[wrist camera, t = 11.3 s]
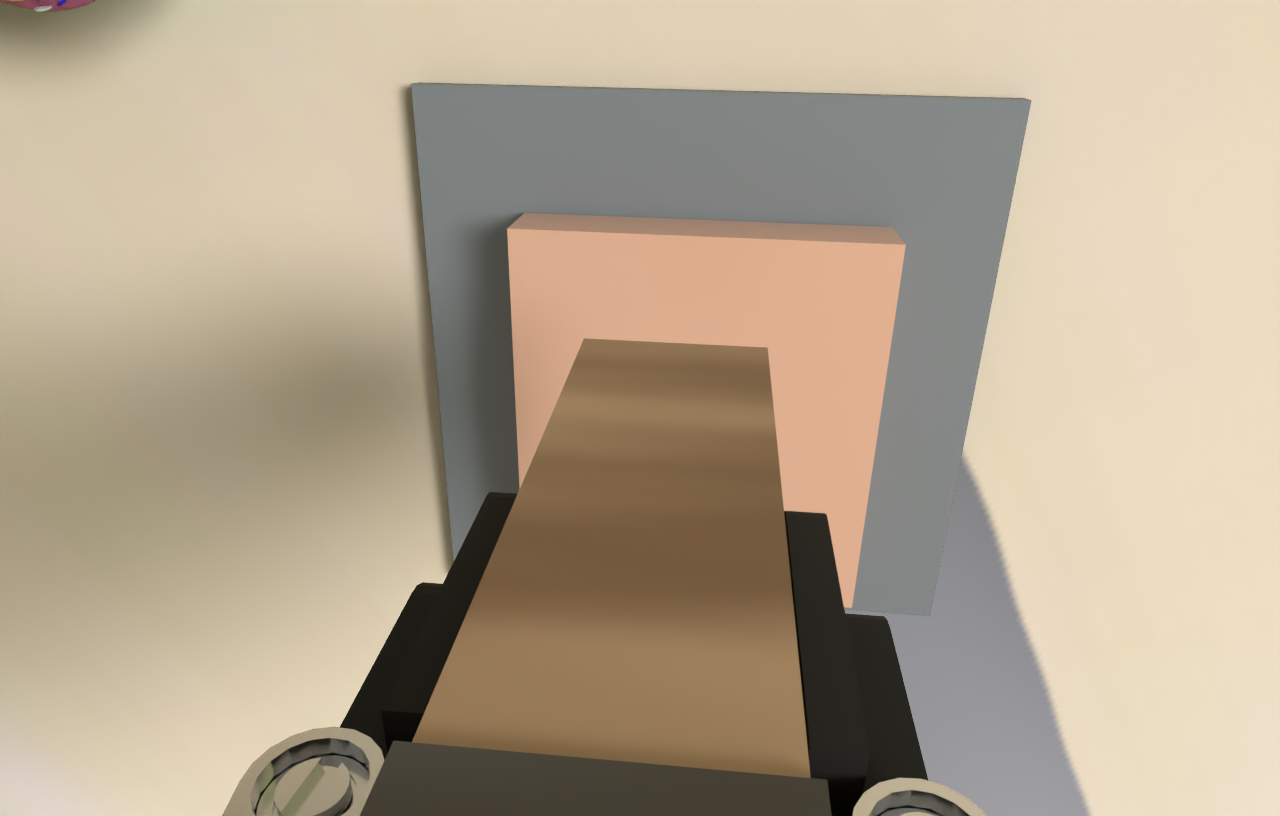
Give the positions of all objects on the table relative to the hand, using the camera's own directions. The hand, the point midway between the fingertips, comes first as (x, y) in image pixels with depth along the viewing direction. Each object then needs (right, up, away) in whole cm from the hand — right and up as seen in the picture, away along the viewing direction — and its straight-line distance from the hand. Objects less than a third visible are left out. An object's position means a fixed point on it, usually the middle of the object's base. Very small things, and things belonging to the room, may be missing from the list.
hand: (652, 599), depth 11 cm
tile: (+2, +7, +11) cm, 13 cm away
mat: (+2, +4, +14) cm, 15 cm away
